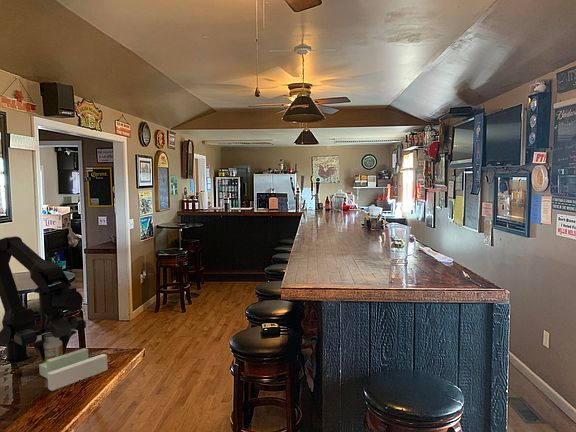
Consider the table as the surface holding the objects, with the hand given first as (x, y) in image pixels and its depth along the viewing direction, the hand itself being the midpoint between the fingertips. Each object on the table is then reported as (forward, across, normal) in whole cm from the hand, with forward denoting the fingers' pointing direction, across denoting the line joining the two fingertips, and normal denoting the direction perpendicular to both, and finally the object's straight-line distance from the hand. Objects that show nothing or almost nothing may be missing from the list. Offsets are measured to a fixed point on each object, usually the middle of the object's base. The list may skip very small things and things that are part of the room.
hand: (53, 357), depth 130 cm
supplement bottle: (+3, 0, 0) cm, 3 cm away
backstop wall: (+2, 0, -16) cm, 16 cm away
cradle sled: (+2, 0, -7) cm, 7 cm away
